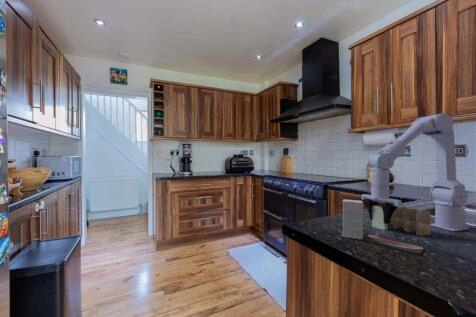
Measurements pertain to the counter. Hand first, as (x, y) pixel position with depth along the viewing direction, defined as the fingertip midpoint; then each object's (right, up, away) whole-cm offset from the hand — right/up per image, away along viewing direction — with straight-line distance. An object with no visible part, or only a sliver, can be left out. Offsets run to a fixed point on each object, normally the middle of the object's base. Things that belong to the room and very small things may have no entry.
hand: (379, 221), depth 84 cm
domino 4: (+10, -3, -3) cm, 10 cm away
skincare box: (-16, -2, -10) cm, 19 cm away
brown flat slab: (-7, -3, -16) cm, 18 cm away
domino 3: (+8, -3, +1) cm, 9 cm away
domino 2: (+7, -3, +5) cm, 9 cm away
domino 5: (+11, -3, -7) cm, 13 cm away
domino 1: (0, -2, 0) cm, 2 cm away
